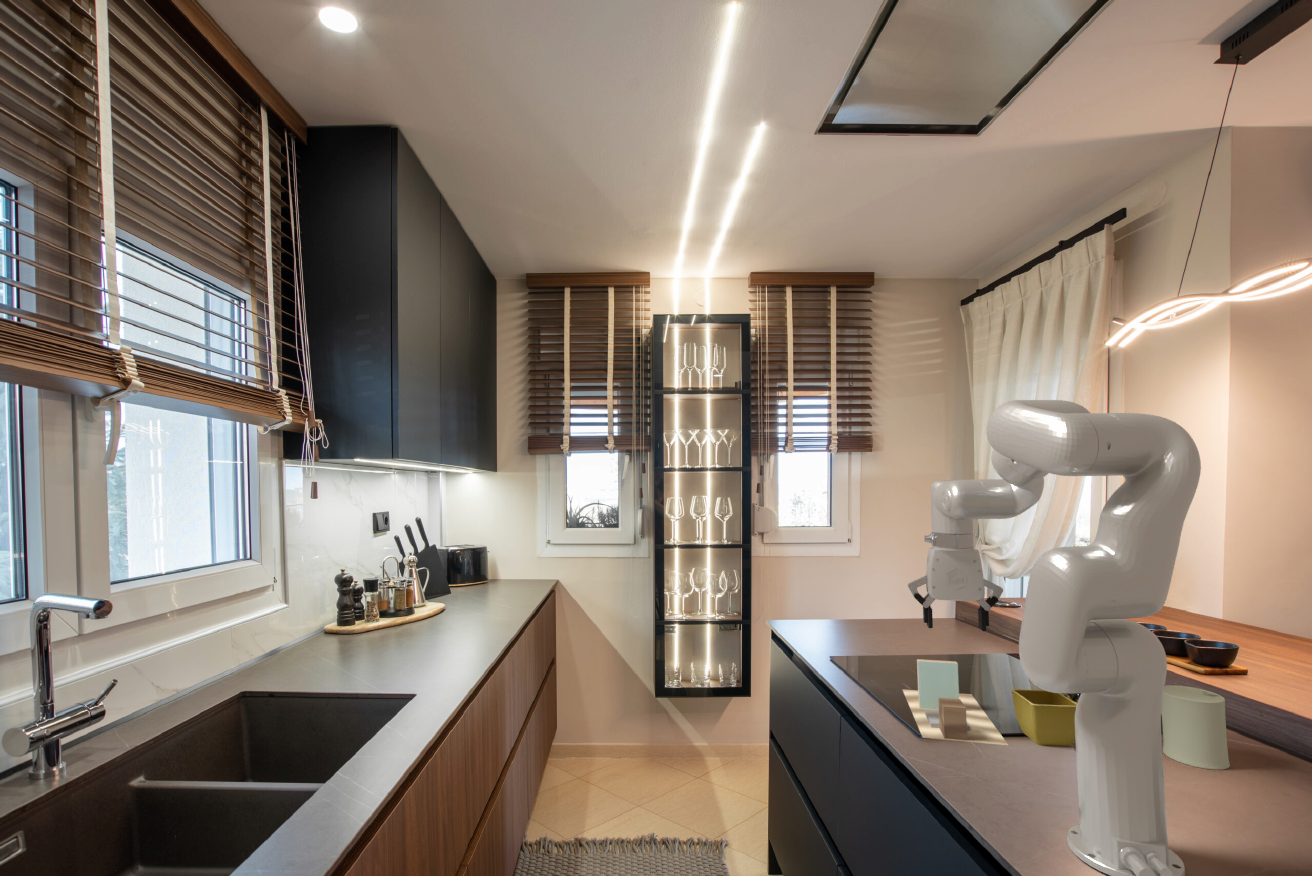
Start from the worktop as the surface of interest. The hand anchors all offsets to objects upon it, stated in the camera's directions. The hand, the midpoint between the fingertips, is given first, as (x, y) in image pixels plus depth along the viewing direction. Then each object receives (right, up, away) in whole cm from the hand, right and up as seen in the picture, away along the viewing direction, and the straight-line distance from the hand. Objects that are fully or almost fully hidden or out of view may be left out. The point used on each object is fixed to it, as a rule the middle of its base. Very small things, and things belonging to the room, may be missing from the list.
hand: (955, 628), depth 122 cm
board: (+2, -22, +8) cm, 23 cm away
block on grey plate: (-1, -20, +1) cm, 20 cm away
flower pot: (+15, -21, -5) cm, 27 cm away
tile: (+2, -21, +11) cm, 24 cm away
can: (+39, -21, -11) cm, 45 cm away
